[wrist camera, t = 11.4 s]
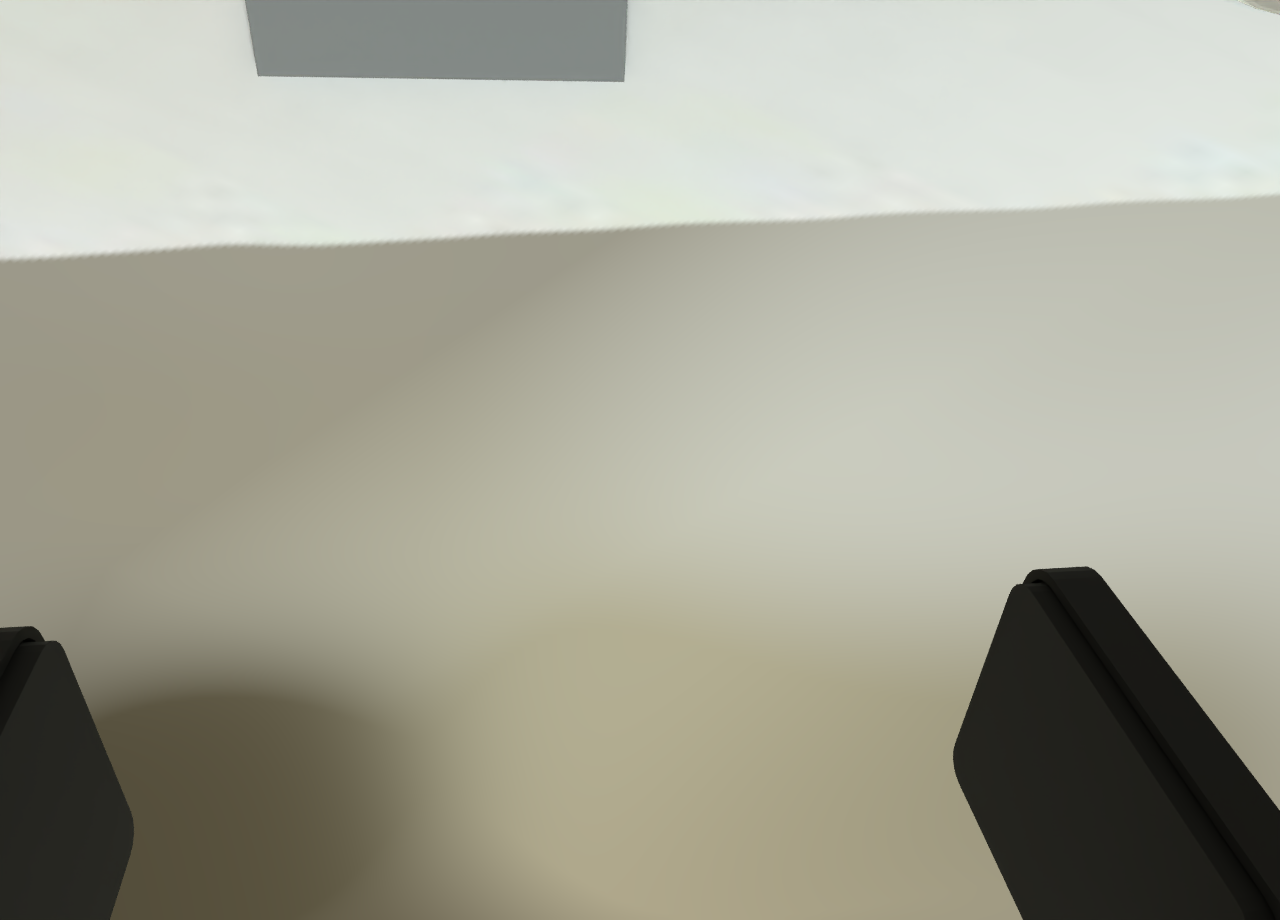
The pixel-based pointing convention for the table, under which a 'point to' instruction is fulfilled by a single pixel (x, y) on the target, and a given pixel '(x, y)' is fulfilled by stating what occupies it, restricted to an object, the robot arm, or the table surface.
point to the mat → (440, 39)
